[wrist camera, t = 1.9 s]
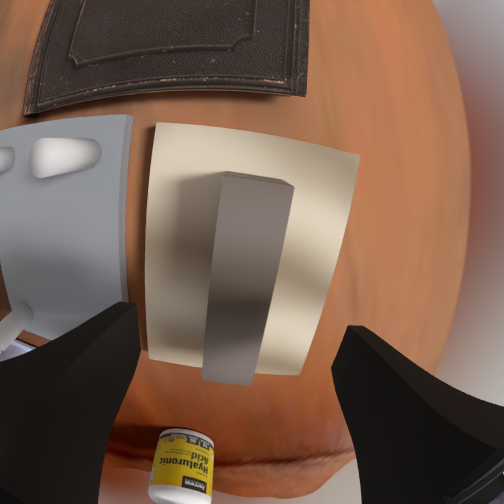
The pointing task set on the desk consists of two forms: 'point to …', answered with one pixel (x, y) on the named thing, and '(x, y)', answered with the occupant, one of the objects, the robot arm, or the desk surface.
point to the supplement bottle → (182, 468)
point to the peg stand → (63, 222)
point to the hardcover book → (167, 49)
